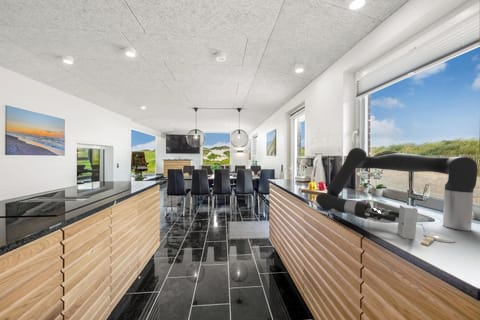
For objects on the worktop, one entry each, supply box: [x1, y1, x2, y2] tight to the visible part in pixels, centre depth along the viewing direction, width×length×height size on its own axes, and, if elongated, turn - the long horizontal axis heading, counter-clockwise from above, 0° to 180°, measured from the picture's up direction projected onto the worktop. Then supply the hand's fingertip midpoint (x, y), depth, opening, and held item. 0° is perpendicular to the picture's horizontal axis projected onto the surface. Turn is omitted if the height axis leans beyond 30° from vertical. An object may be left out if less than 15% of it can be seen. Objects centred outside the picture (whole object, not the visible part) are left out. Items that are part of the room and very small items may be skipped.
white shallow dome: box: [423, 231, 456, 244], centre depth 82 cm, size 9×9×1 cm
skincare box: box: [397, 204, 418, 240], centre depth 83 cm, size 6×4×12 cm
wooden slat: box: [420, 237, 436, 247], centre depth 78 cm, size 10×2×1 cm, turn 127°
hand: (398, 217), depth 85 cm, fingers open, 8 cm apart
